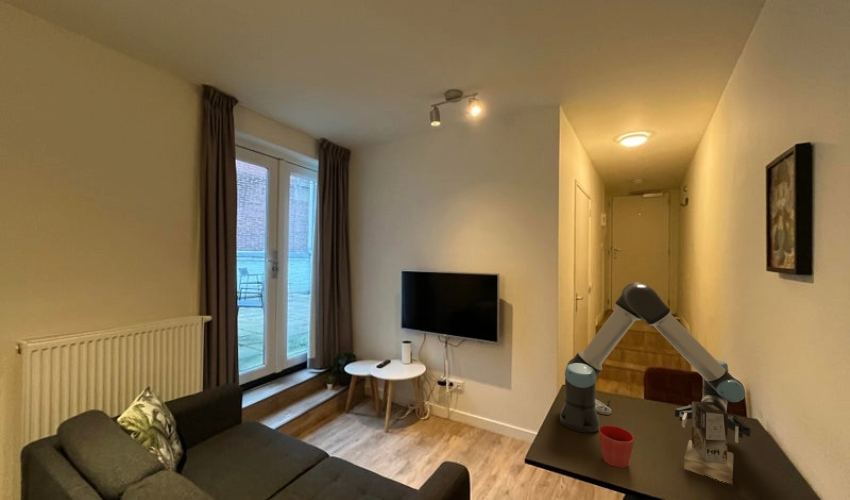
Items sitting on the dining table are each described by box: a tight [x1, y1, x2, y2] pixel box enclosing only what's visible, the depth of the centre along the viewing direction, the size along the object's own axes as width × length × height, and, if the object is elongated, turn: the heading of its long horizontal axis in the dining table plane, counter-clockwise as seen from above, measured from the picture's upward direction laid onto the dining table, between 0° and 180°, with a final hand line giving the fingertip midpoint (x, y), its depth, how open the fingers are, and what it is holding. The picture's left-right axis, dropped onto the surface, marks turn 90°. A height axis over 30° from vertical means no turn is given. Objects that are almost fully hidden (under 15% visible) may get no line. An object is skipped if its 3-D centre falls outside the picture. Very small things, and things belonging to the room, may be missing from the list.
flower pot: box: [598, 425, 635, 469], centre depth 121 cm, size 11×11×10 cm
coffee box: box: [691, 401, 729, 464], centre depth 118 cm, size 9×6×16 cm
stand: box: [683, 439, 734, 485], centre depth 118 cm, size 12×14×4 cm
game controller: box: [595, 398, 612, 416], centre depth 162 cm, size 15×13×2 cm
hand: (708, 430), depth 115 cm, fingers open, 13 cm apart
